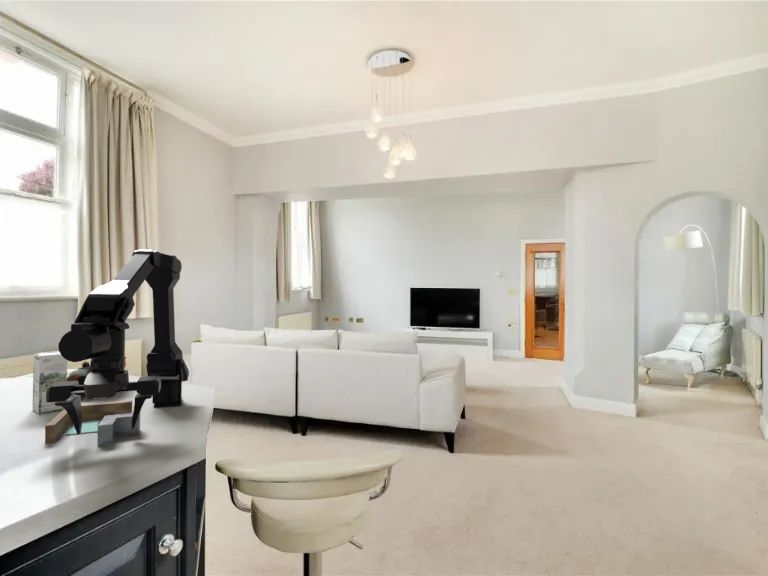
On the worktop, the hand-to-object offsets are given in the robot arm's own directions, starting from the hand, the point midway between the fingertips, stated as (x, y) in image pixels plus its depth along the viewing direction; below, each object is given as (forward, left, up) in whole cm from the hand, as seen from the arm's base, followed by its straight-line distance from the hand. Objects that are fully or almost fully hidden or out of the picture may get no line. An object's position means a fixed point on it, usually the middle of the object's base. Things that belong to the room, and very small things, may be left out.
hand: (106, 430), depth 85 cm
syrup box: (+17, -31, -2) cm, 36 cm away
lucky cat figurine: (+11, -48, -3) cm, 49 cm away
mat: (+4, -12, -2) cm, 13 cm away
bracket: (-2, -2, -2) cm, 4 cm away
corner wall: (+4, -11, -2) cm, 12 cm away
